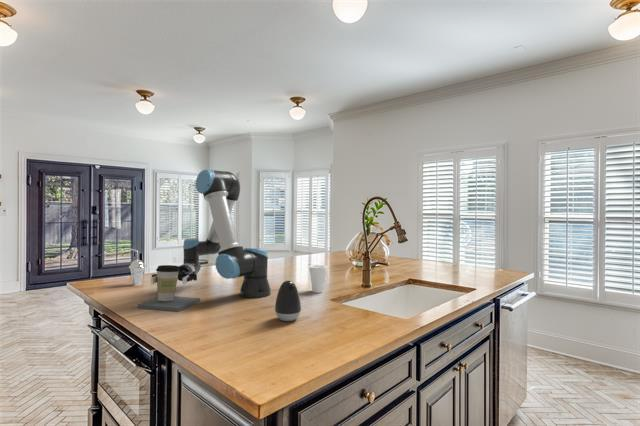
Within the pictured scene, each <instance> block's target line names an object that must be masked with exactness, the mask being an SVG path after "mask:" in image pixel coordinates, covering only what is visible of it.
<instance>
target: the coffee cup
mask: <svg viewBox="0 0 640 426" xmlns="http://www.w3.org/2000/svg"><path fill="white" fill-rule="evenodd" d="M155 271H156V274H157V282H156V285H157V286H156V287H157V297H158V301H172V300H173V298H174V296H175V293H176V288H177V285H178V272H179V271H180V269H179V266H178V265H172V264H171V265H169V264H165V265H164V264H162V265H157V268H156V269H155Z"/></svg>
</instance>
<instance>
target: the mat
mask: <svg viewBox="0 0 640 426" xmlns="http://www.w3.org/2000/svg"><path fill="white" fill-rule="evenodd" d="M200 302H201V298H200V297H189V296H188V297H187V296H176V295H174V298H173V300H172V301H158V296H157V297H153V298H151V299H149V300H145V301H143V302H141V303H138V304H137V308H138V309H145V310H146V309H147V310H156V311H170V312H180V311H183V310H185V309H187V308H190V307H191V306H193V305H195V304H198V303H200Z"/></svg>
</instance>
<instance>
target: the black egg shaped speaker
mask: <svg viewBox="0 0 640 426" xmlns="http://www.w3.org/2000/svg"><path fill="white" fill-rule="evenodd" d="M301 311H302V306H301V298H300V294H299V291H298V288H297V286H296V284H295V283H294V282H293V281H292V280H285V281H283V282H282V283H281V285H280V287H279V289H278V292H277V295H276V298H275V303H274V312H275V315H276V317H277V318H278V319H279V320H280V321H282V322H283V321H284V322H292V321H295V320H297V319H298V318H299V316H300V314H301Z"/></svg>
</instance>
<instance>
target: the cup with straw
mask: <svg viewBox="0 0 640 426" xmlns="http://www.w3.org/2000/svg"><path fill="white" fill-rule="evenodd" d="M129 250H131V251H134V252H136V259H135V260H132V261H131V262H130V265H128V269H130V275H131V282H132V286H133V287H134V286H135V287H138V286H142V285H143V281H144V280H143V279H144V272H145V268H146V267H147V265H146V264H145V263H144V261H143V260H141V259H139V250H137V249H135V248H129Z"/></svg>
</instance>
